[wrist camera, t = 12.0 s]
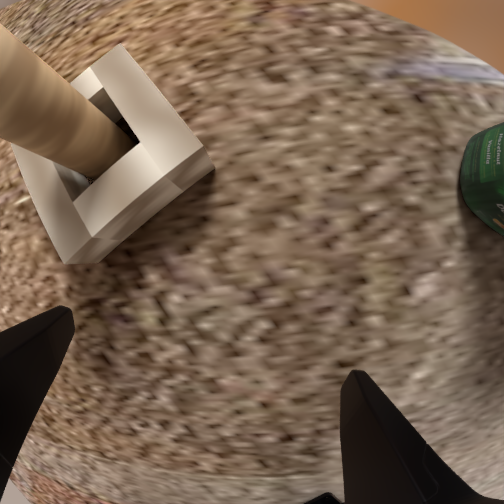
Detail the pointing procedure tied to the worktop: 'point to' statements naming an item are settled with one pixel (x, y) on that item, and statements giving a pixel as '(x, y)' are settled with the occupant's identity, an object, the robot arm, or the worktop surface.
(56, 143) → the wooden stick
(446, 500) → the robot arm
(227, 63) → the worktop surface
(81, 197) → the socket block
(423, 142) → the worktop surface
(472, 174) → the coffee jar
